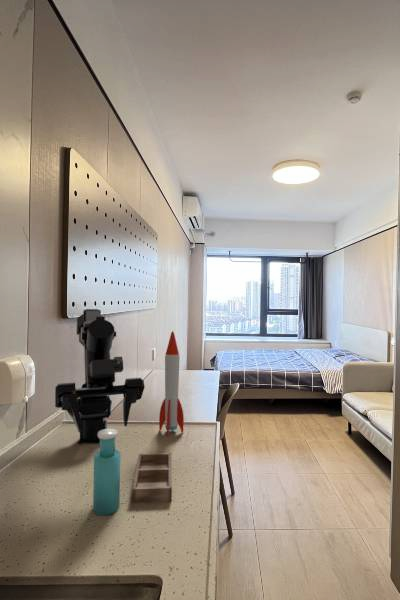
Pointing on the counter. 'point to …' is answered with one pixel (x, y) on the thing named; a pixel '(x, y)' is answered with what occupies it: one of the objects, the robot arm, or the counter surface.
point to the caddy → (153, 478)
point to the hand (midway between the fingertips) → (103, 428)
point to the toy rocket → (171, 390)
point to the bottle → (106, 474)
